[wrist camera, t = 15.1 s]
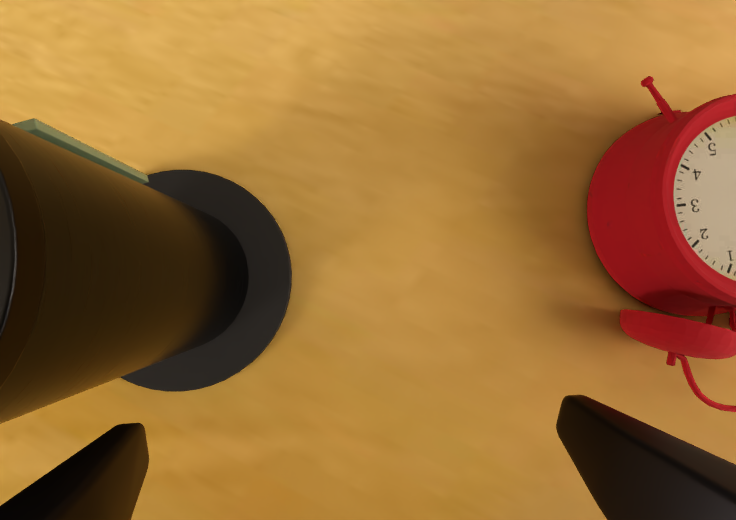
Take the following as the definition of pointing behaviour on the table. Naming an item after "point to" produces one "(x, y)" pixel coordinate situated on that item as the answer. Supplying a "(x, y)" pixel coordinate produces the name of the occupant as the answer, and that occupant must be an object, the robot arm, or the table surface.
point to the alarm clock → (672, 228)
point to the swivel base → (263, 292)
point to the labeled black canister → (99, 270)
